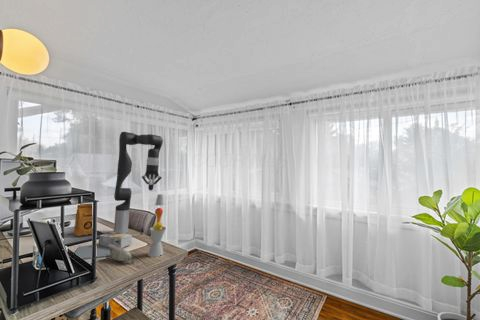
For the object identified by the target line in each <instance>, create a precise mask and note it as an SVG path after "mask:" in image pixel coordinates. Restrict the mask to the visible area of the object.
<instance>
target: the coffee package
mask: <svg viewBox="0 0 480 320" xmlns="http://www.w3.org/2000/svg"><path fill="white" fill-rule="evenodd" d="M79 204H80V205H78V204H77V207H76V208H77V209H76V212H75V213H76V214H75V221H74V230H73V235H74V236H75V237H83V236H82V235H84V236H89V235H88V234H91V235H93V234H92V203H79Z"/></svg>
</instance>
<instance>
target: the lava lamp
mask: <svg viewBox="0 0 480 320" xmlns="http://www.w3.org/2000/svg"><path fill="white" fill-rule="evenodd" d="M154 205H155V206H164V205H165V199H164V194H162V193H159V194H158V193H157V196H156V201H155V204H154ZM163 213H164V210H163V208H161V207H158V208H156V209H155V211H154V214H155V216H156V223H155V225H154V226H152V227H149V232H150V236H151V240H152V243H151V246H150V247H149V251H148V253H147V256H148V257H149V256H150V258H158V257H157V256H160V255H162V254H163V253H164V250H163V245H162V239H163V237H164V234H165V232H166V230H167V229H166V227H165V226H163V223H162V222H161V219H162V215H163ZM163 255H164V254H163ZM163 255H162V256H163ZM160 257H161V256H160Z"/></svg>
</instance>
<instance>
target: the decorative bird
mask: <svg viewBox="0 0 480 320" xmlns="http://www.w3.org/2000/svg"><path fill="white" fill-rule="evenodd" d="M108 246H109V247H110V254H109V255H111V258H112V259H114V260H115V261H117V262H124V261H125V262H126V263H127V264H128V265H130V264H131V262H132V253H131V252H130V251H128V250H126V249H124V248H120V247H116V246H115V245H112V244H109V245H108ZM106 254H107V253H106ZM108 258H109V257H108V256H106V257H105V259H108Z"/></svg>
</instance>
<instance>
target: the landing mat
mask: <svg viewBox="0 0 480 320" xmlns="http://www.w3.org/2000/svg"><path fill="white" fill-rule="evenodd" d="M92 245H93V244H92ZM92 245H91V244H90V245H80V246H78V247H77V249H76V250H75V252H74V253H75V254H77V255H78V256H79V257H81V258H82V259H83V260H91V257H92ZM96 245H97V256H96V258H95V259H101V258H106V256H108V258H112V256H111V255H109V254H110V247H105V246H99V244H96ZM106 253H107V254H106Z"/></svg>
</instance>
